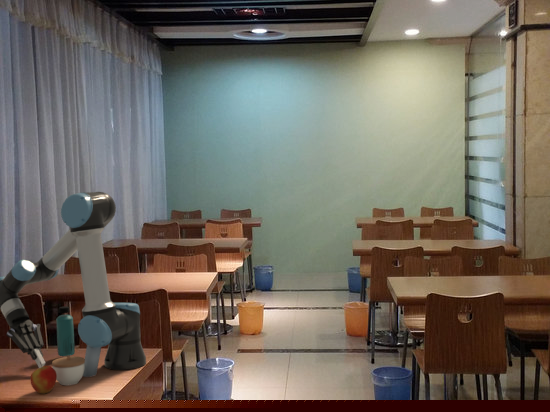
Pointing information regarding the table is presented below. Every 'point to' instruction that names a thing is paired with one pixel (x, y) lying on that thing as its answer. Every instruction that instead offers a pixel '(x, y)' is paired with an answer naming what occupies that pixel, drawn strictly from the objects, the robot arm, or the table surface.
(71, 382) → the lidded jar
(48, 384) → the apple
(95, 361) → the post
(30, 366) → the table surface
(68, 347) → the beverage bottle
